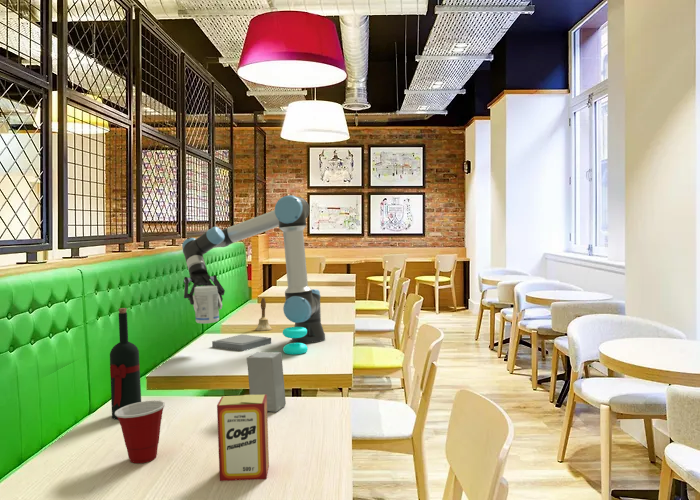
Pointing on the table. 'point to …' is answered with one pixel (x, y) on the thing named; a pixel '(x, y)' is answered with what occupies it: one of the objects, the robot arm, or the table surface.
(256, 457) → the baking soda box
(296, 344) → the donuts
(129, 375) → the wine bottle
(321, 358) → the table surface
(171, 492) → the table surface
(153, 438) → the plastic cup
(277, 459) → the table surface
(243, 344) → the slate board
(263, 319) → the hand bell
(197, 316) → the supplement tub
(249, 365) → the skincare box
